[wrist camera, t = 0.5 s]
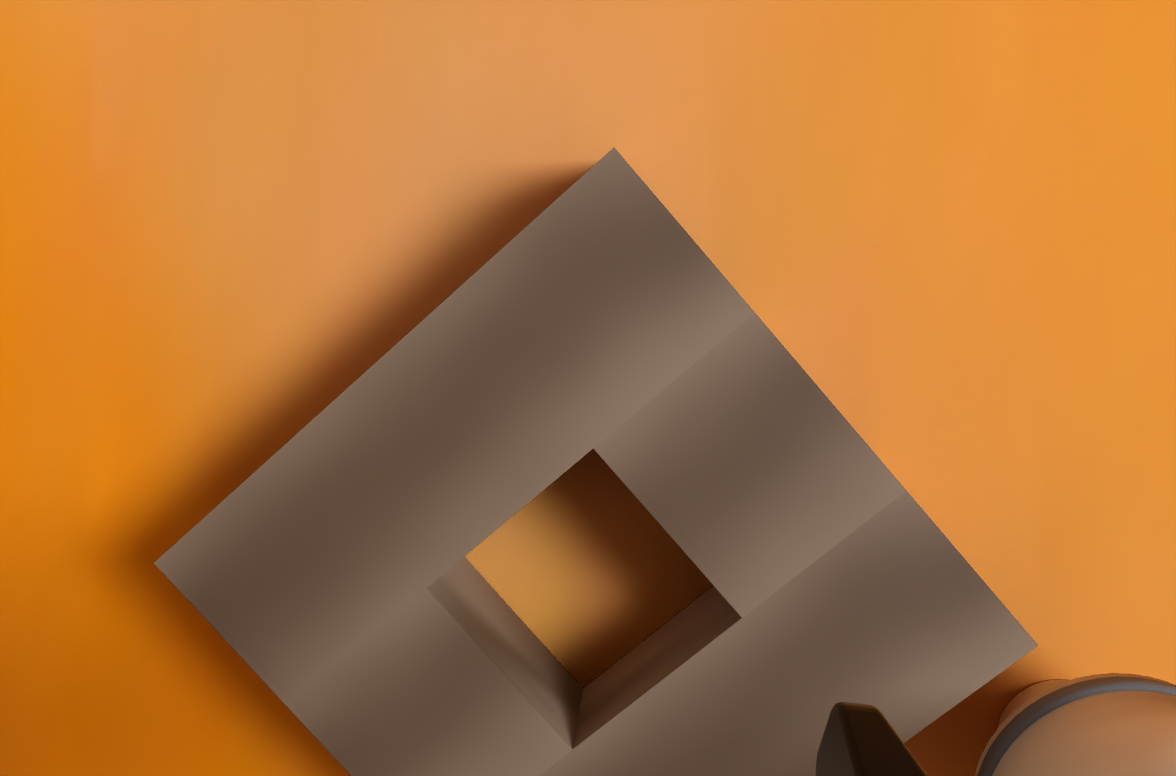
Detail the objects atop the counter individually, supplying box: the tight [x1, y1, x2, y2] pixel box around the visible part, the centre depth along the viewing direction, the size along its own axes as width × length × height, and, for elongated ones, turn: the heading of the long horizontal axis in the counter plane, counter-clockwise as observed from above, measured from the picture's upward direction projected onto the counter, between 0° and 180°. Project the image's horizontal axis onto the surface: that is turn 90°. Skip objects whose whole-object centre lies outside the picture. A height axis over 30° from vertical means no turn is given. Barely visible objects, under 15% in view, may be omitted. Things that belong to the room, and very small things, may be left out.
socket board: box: [154, 148, 1038, 776], centre depth 23 cm, size 14×14×3 cm
